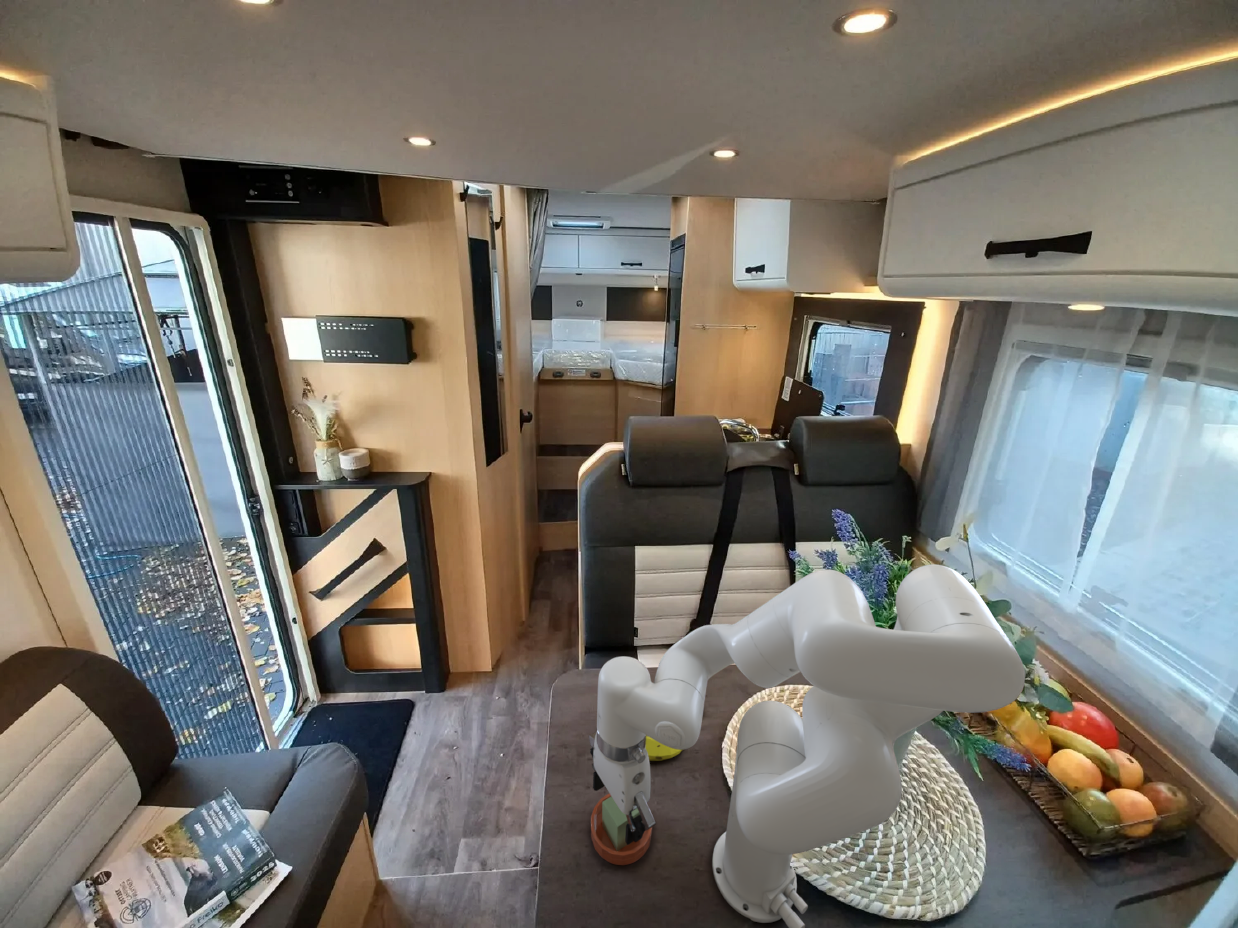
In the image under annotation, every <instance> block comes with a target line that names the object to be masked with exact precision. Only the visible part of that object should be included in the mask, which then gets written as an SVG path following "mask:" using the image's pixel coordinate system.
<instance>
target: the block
mask: <svg viewBox="0 0 1238 928" xmlns="http://www.w3.org/2000/svg"><path fill="white" fill-rule="evenodd" d="M631 813H632V816H633V819H634V818H635V817H637V816H638V815H640V813H639V811H638V809H635V810H634V811H632V812H631ZM627 824H628V820H627V817H626V814H624V813H623V812H622V811H621V810H620V809H619V807H618V806H617V804H616V803H615V801H614V800H613V798H612V796H611V797H609V798H608V799H606V800H605V801H603V802H602V826H603V828H604V830H605V832H606V833H607V835H608V837H609V838H610V840H611V842H612V844H613V845H614V847H615V849H616V850H617V851H619V850H620V849H622V848H623V847H625V846H626V845H627V844H626V842H625V835H626V825H627Z"/></svg>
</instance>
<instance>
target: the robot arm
mask: <svg viewBox="0 0 1238 928" xmlns="http://www.w3.org/2000/svg"><path fill="white" fill-rule="evenodd" d="M895 610H896V615H897V617H896V621H895V624H894V627H893V629H892V628H891V629H890V628H884V627H880V626H877V625H876V622H875V620H874V616H873V613H872V610H871V608H870V605H869V602H868V600H867V598H866V596H865V594H864V592H863V591H862V589H861V588H860V586H859V585H858V584H857V583H856V582H855V581H854V580H853V579H851V577H849V575H846V574H845V573H843V572H840V571H838V570H834V569H820V570H815V571H812V572H810V573H808V574H807V575H804V576H803V577H802V578H800V579H798V580H797V581H796V582H794V583H793V584H791V585H789V586H788V587H787V588H785V589H784V590H782V591H781V592H779V593H778V594H777V595H775V596H774V597H772V598H770V599H769V600H767V601H766V602H765V603H763V604H762V605H760V606H759V607H757V608H756V609H754V610H753V611H752V612H750V613H748V614H747V615H746V616H744V617H743V618H741V619H739V620H738V621H736V622H735V623H733V624H730V623H714V624H706V625H703V626H700V627H697V628H696V629H694V630H692V631H690V632H689V633H688V634H687V635H685V636H684V637H682V638H681V639H680V640H678V641H677V642H675V643H673V645H672V646H670V647H669V648H668V649H667V650H666V651H665V653H664V654H663V656H662V657H661V659H660V661H659V662H658V667H657V669H656V672H655V676H654V679H653V682H652V679H651V675H650V671H649V670H648V667H647V666H646V665H645V664H644V663H643V662H642V661H640V660H639V659H637V658H635V657H631V656H625V655H624V656H616V657H613V658H611V659H609V660H607V661H606V662H605V663H604V664H603V666H602V667H601V669H600V670H599V673H598V679H597V702H596V703H597V704H596V706H597V707H596V709H597V710H596V712H597V713H596V732H592V733H591V734H589V735H588V741H589V746H590V750H589V753H590V755H591V758H592V761H593V762H592V763H591V767H592V771H594V772H593V776H592V789H593V790H594V791H596V792H598V791H599V790H601V789H603V788H604V787H605V788H606V790H607V792H608V794H609V793H610V795H611V796H612V798H613V800H614V801H615V803H616V804H617V806H618V807H619V809H620V810H621V811H622V812H623V813H624V814H626V817H627V820H628V824H627V825H626V835H625V842H626V844H627V845H629V844H630V843H632V842H633V841H634V842H637V841H639V840H640V839H641V838H642V836H643V834H644V831H646V830H648V829H650V828H651V827H652V828H653V827H654V826H655V825H656V821H655V818H654V815H653V814H652V811H651V809H650V806H649V805H648V803H649V802H650V799H651V789H652V787H651V786H652V784H651V781H652V780H651V779H652V778H651V776H652V775H651V764H650V763H651V762H650V761H649V757H648V752H647V750H646V748H645V747H646V737H647V736H648V737H651V738H652V739H654V740H656V741H658V742H659V743H661V744H663V745H665V746H668V747H670V748H674V749H679V750H682V751H683V750H688V749H690V748H692V747H693V746H694V745H695V744H696V743H697V742H698V739H699V737H700V734H701V729H702V722H703V715H704V710H705V701H706V695H707V688H708V687H707V686H708V681H709V680H710V679H711V678H712V677H713V676H715V675H716V674H718V673H719V672H721V671H722V670H724V669H726V668H727V667H729V666H732V665H735V666H736V668H737V669H738V670H739V671H740V672H741V673H742V675H744V677H745V678H746V679H747V680H748V681H750V682H751V683H753V684H754V685H755V686H758V687H760V688H763V689H771V688H775V687H777V686H778V685H780V684H782V683H783V682H785V681H787V680H788V679H790V678H793V677H794V676H796V675H797V674H800V673H801V675H802V676H803V677H804V679H805V680H806V681H808V682H809V683H810V684H811V685H812V686H811V688H809V689H808V690H807V691H806V693H805V694H804V697H803V700H802V704H801V705H802V708H801V713H802V714H801V715H802V716H800V714H799V713H798V712H797V711H796V710H795V709H794V708H792V707H791V706H789V705H788V704H786V703H783V702H781V701H777V700H763V701H759V702H757V703H755V704H753V705H752V706H750V707H749V708H748V709H747V710H746V711H745V713H744V715H743V716H742V718H741V720H740V723H739V726H738V731H737V740H736V754H735V764H734V773H733V779H732V780H733V781H732V788H731V795H730V802H729V810H728V817H727V824H726V830H725V832H723V833H722V834H721V835H720V836H719V838H718V839H717V840H716V843H715V845H714V848H713V853H712V858H711V859H712V861H711V866H712V873H713V874H712V875H713V878H714V882H715V884H716V886H717V888H718V890H719V891H720V894H721V895H722V897H723V898H724V900H725V901H726V903H728V905H729V906H730V907H732V909H734V910H735V911H736V912H737V913H739V914H741V915H742V916H744V917H745V918H747V919H750V921H753V922H757V923H761V924H767V923H773V922H777V921H779V920H781V919H782V920H783V922H784V923H785V925H786V926H787V928H805V927H806V924H805V923H804V922H803V920H802V919H801V918H800V917H799V916H798V914H797V913H796V912H795V911H794V910H793V909H792V907H793V905H794V906H795V908H796V909H797V911H798V912H799V913H800V914H801V915H804V914H805V913H806V911H807V910H808V907H809V905H808V903H806V901H805V900H804V899H803V898H802V896H800V895H799V894H798V893H797V888H798V883H797V874H796V869H795V867H794V866H793V867H794V868H793V867H792V866H790V863H791V861H792V858H793V855H796V854H797V855H798V854H801V853H805V852H809V851H813V850H815V849H817V848H821V847H823V846H827V845H829V844H832V843H834V842H837V841H840V840H843V839H846V838H848V837H852V836H854V835H857V834H860V833H863V832H865V831H868V830H870V829H873V828H875V827H878V826H879V825H881V824H883V823H884V822H886V821H887V820H889V819H890V817H892V816H893V814H894V813H895V812H896V810H897V809H898V807H899V805H900V803H901V799H902V794H903V793H902V792H903V784H902V777H901V773H900V768H899V764H898V760H897V757H896V754H895V750H894V745H895V742H896V740H897V739H899V738H900V737H902V736H904V735H905V734H907V733H909V732H911V731H913V730H914V729H916V728H918V727H920V726H921V725H925V724H926V723H928V722H929V721H931V720H934V718H937V717H938V716H939V715H941V713H943V712H954V713H967V714H970V713H971V714H974V713H988V712H992V711H997V710H999V709H1003V708H1005V707H1007V706H1009V705H1010V704H1012V703H1013V702H1015V701H1016V700H1017V699H1018V697H1020V695H1021V693H1022V691H1023V690H1024V687H1025V684H1026V683H1025V680H1026V672H1025V667H1024V663H1023V661H1022V659H1021V657H1020V655H1019V653H1018V651H1017V650H1016V648H1015V646H1014V645H1013V643H1012V641H1011V640H1010V639H1009V637H1008V635H1007V634H1006V632H1005V631H1004V630H1003V628H1002V627H1001V625H1000V624H999V622H998V621H997V620H996V618H995V617H994V615H993V614H992V612H991V610H990V609H989V607H988V606H987V604H986V602H985V601H984V600H983V598H982V597H981V595H980V594H979V593H978V591H977V590H976V589H975V587H974V586H973V585H972V584H971V583H970V582H969V581H968V580H967V578H965V577H964V576H963V575H962V574H961V573H959V572H958V571H956V570H955V569H954V568H951V567H949V566H947V565H942V564H936V563H935V564H933V563H931V564H925V565H922V566H919V567H917V568H914V569H913V570H912V571H910V572H909V573H908V574H907V575H906V576H905V577H904V578H902V581H901V582H900V584H899V586H898V588H897V591H896V595H895ZM635 809H638V811H639V813H640V815H638V816H637V817H635V818H634V819H633V816H632V813H631V812H632V811H634V810H635ZM794 869H795V870H794ZM718 872H719V873H718ZM745 909H746V910H745Z"/></svg>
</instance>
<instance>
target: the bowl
mask: <svg viewBox="0 0 1238 928" xmlns="http://www.w3.org/2000/svg"><path fill="white" fill-rule="evenodd" d="M609 797H611V795H610V793H609V792H608V793H607V794H606V795H604V796H603V797H601V798H600V799H599V800H598V801H597V803H596V804H595V805H594V807H593V810H592V813H591V816H590V838H591V841H592V845H593V847H594V849H595V851H596V852H597V854H598V855H599V856H600V857H601V859H603V860H604V861H606V862H608V863H609V864H612V865H617V866H626V865H631V864H634V863H635V862H637V861H638V860H640V859H641V858H642V857H643V856H644V855H645V854H646V853H647V851H648V849H649V848H650V845H651V841H652V837H653V827H651V828H650V829H648V830H646V831H644V834H643V836H642V838H641V839H640V840H639V841H637V842H634V841H633V842H632V843H630V844H629V845H626V846H625V847H623V848H622V849H620V850H619V851H617V850H616V849H615V847H614V845H613V844H612V842H611V840H610V838H609V837H608V835H607V833H606V832H605V830H604V828H603V826H602V802H603V801H605V800H606V799H608V798H609Z"/></svg>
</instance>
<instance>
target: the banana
mask: <svg viewBox="0 0 1238 928" xmlns="http://www.w3.org/2000/svg"><path fill="white" fill-rule="evenodd" d="M645 748H646V750H647V752H648V757H649V762H661V761H666V760H669V759H672V758H673V757H676V756H678V755H679V754H680V753H681V752H682V751H683V750H679V749H674V748H670V747H668V746H665V745H663V744H661V743H659V742H658V741H656V740H654V739H652V738H651V737H649V736H647V737H646V747H645Z"/></svg>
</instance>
